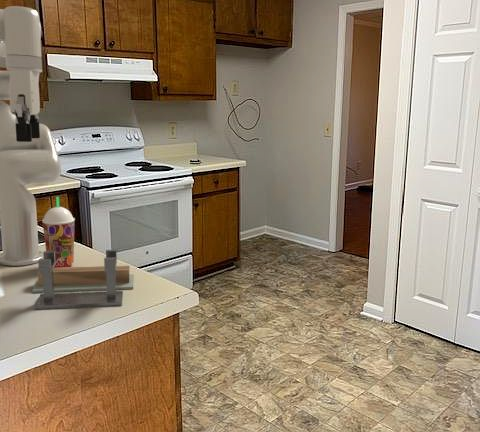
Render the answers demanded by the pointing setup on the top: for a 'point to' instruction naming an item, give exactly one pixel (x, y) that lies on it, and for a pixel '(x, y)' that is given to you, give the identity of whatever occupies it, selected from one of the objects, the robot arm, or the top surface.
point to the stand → (77, 299)
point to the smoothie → (59, 235)
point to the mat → (85, 287)
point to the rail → (85, 275)
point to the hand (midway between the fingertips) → (28, 139)
